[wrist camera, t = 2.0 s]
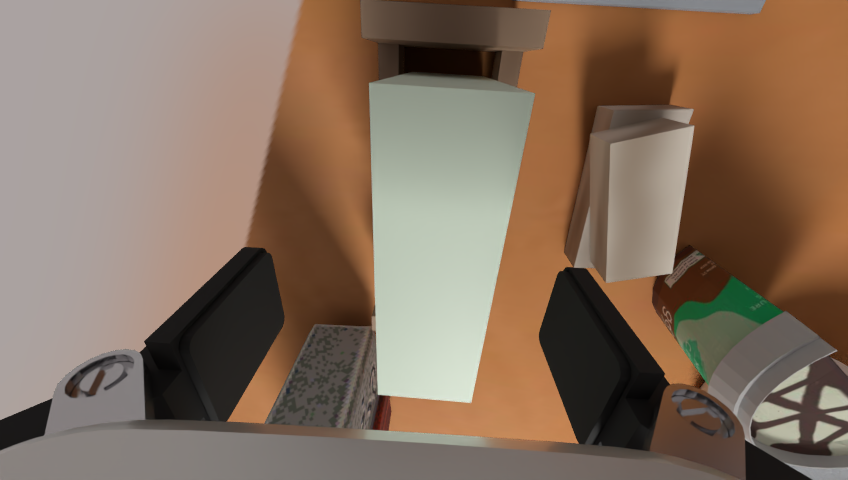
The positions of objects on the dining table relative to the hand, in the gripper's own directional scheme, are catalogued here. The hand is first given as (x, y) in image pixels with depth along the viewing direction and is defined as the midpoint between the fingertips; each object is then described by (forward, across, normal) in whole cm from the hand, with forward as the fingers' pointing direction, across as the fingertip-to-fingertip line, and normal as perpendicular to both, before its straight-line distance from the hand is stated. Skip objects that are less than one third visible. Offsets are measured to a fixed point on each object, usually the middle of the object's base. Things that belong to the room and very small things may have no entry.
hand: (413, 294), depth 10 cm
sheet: (+12, -1, 0) cm, 12 cm away
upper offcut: (+10, -12, 0) cm, 15 cm away
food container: (+12, -21, +9) cm, 26 cm away
